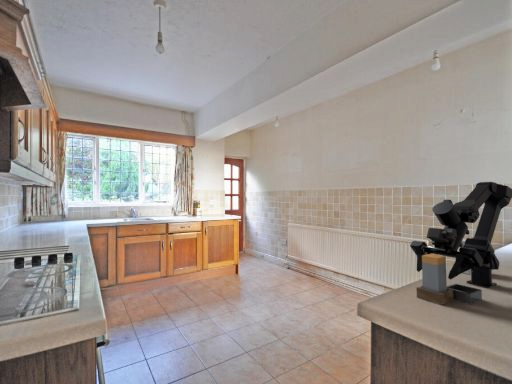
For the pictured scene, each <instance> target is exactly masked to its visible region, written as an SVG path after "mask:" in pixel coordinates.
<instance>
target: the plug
mask: <svg viewBox="0 0 512 384" xmlns="http://www.w3.org/2000/svg"><path fill="white" fill-rule="evenodd" d="M446 257H447V256H442V255H438V254H432V253H431V254H427V255H422V270H421V271H422V272H421V273H422V274H421V276H422V279H421V280H422V286H423V289H426V290H429V291H433V292H436V293H442V292H445V291H447V286H448V284H447V258H446Z"/></svg>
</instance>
